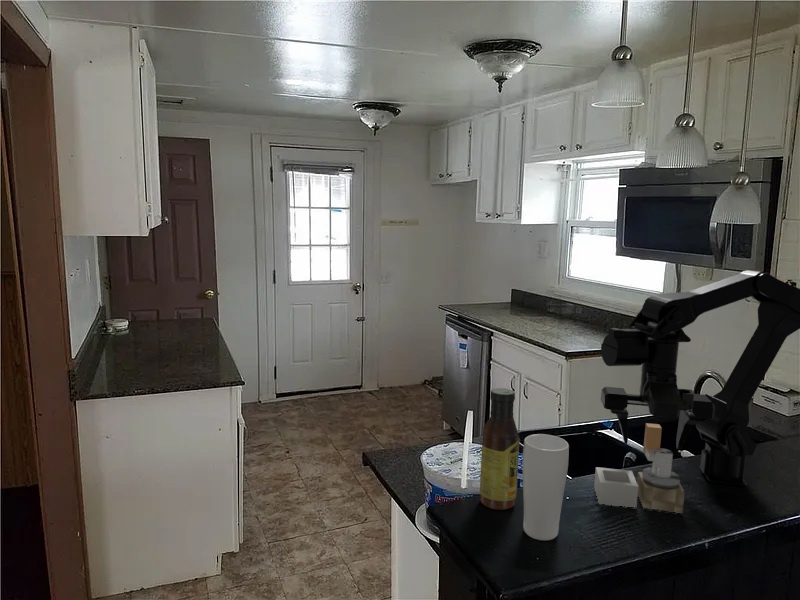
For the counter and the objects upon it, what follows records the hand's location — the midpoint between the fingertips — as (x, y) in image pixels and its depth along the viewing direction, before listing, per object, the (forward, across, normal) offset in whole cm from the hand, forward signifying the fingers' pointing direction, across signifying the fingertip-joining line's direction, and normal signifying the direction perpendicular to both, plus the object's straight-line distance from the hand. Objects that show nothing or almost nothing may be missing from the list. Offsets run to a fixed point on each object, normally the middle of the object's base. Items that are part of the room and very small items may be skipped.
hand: (651, 446), depth 108 cm
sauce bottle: (+7, -28, -16) cm, 32 cm away
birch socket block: (+7, 0, -8) cm, 11 cm away
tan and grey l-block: (+1, 0, -1) cm, 2 cm away
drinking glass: (+7, -20, -24) cm, 32 cm away
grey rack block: (+7, -7, -8) cm, 13 cm away
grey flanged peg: (+7, 0, -8) cm, 11 cm away
